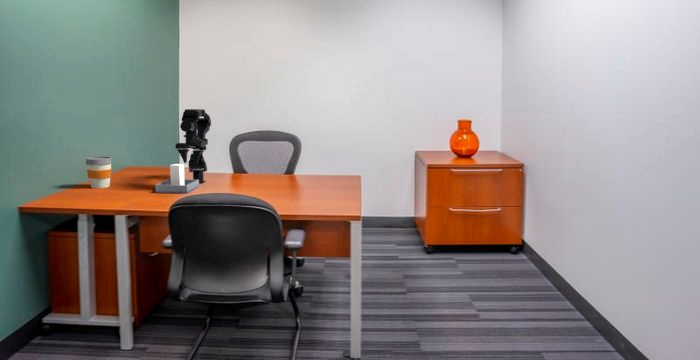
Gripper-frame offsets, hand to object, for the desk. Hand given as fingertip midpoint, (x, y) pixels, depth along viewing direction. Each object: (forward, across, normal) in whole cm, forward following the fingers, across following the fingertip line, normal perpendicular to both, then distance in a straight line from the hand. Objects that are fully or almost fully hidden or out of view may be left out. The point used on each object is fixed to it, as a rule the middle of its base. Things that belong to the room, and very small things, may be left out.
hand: (191, 163), depth 317 cm
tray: (+14, -8, +2) cm, 16 cm away
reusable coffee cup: (+12, -17, +44) cm, 49 cm away
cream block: (+13, -8, +2) cm, 15 cm away
